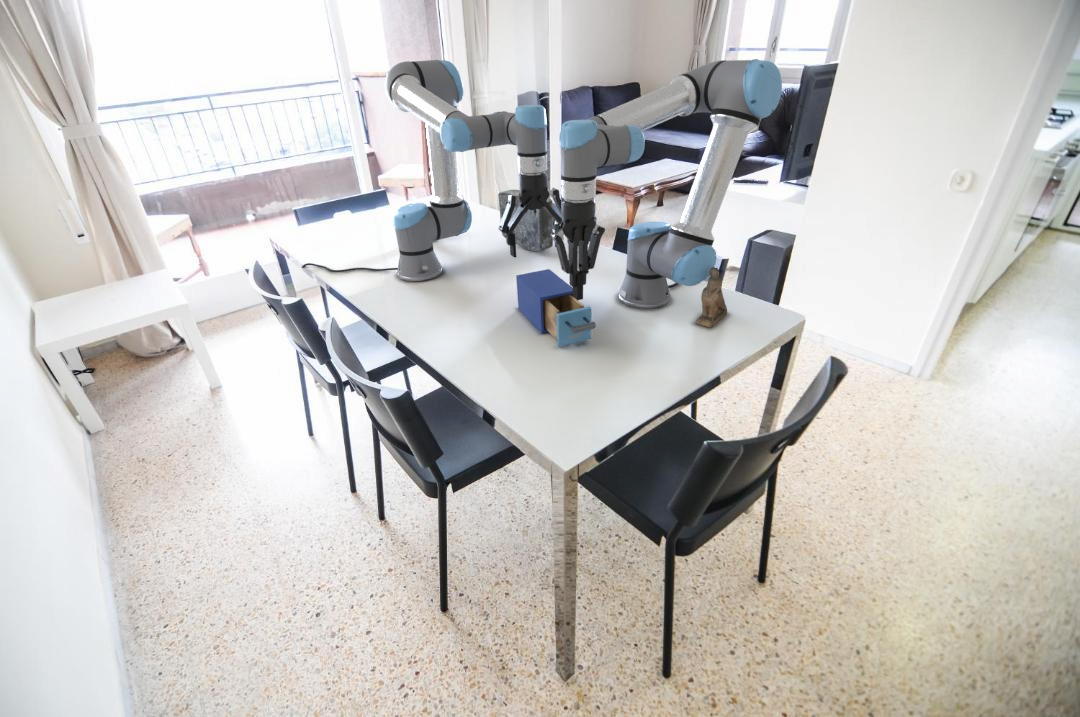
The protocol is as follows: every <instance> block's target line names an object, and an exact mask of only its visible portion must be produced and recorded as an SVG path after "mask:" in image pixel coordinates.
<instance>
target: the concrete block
mask: <svg viewBox="0 0 1080 717" xmlns="http://www.w3.org/2000/svg"><path fill="white" fill-rule="evenodd" d="M519 192H520V189H507V190H504V191H501V192H498V195H497V196H498V206H499V207H498V208H499V218H500V221H501V220H502V217H503V214H504V212H505V209H506V206H507V204H508V195H509V194H512V195H519ZM547 203H548V204H549V205H550V206H551V208H552V209H553V210H554V207H553V204H554V201H553V199H551V198H549V197H548V199H547ZM520 204H521V201H520V200H518V201H517V203H516V204H515V208H514V210H513V213H512V216H511V218H510V220H511V219H512V217H513V216H514V214H515V213H516V211H517V210H518V207H519V205H520ZM553 221H554V218H553V217H552V216H551V215H550V214H549V213H548V212H547V211H546V210H545V208H544V207H542V208H541V209H535V210H528V211H527V212H526V213H525V214H524V215H523V217H522V218H521V220H520V221H519V223H518V225H517V226H516V228H515V229H514V231H513V233H515V241H516V246H518V247H521V248H523V249H524V250H527V251H531V252H543V251H545V250H548V249H550V248H552V247H553V246H554V240H553V239H552V238H551V234H552V233H554V230H553V229H554V228H553V227H554V226H553V224H554V222H553ZM509 222H510V221H509ZM501 235H502V236H503V238H505V239H506V233H502V232H501Z"/></svg>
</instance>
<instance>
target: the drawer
mask: <svg viewBox="0 0 1080 717" xmlns="http://www.w3.org/2000/svg"><path fill="white" fill-rule="evenodd" d="M543 313H544V327H545V328H546V329H547V330H548V331H549V332H548V333H549V334H551V337H553V338H554V339H555V340H556V345H557V347H558V348H559V347H565V346H567V345H571V344H576V343H581V342H583V341H584V342H585V341H587V340H588V341H589V340H591V339H592V330H595V329H596V328H597V325H596V322H595V321H592V307H591V306H585V305H584V304H583V303H582V302H580V300H576V299H575V298H574V297H573V296H572V295H571V294H569V295H564V296H559V297H555V298H550V299H545V300H543Z"/></svg>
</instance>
